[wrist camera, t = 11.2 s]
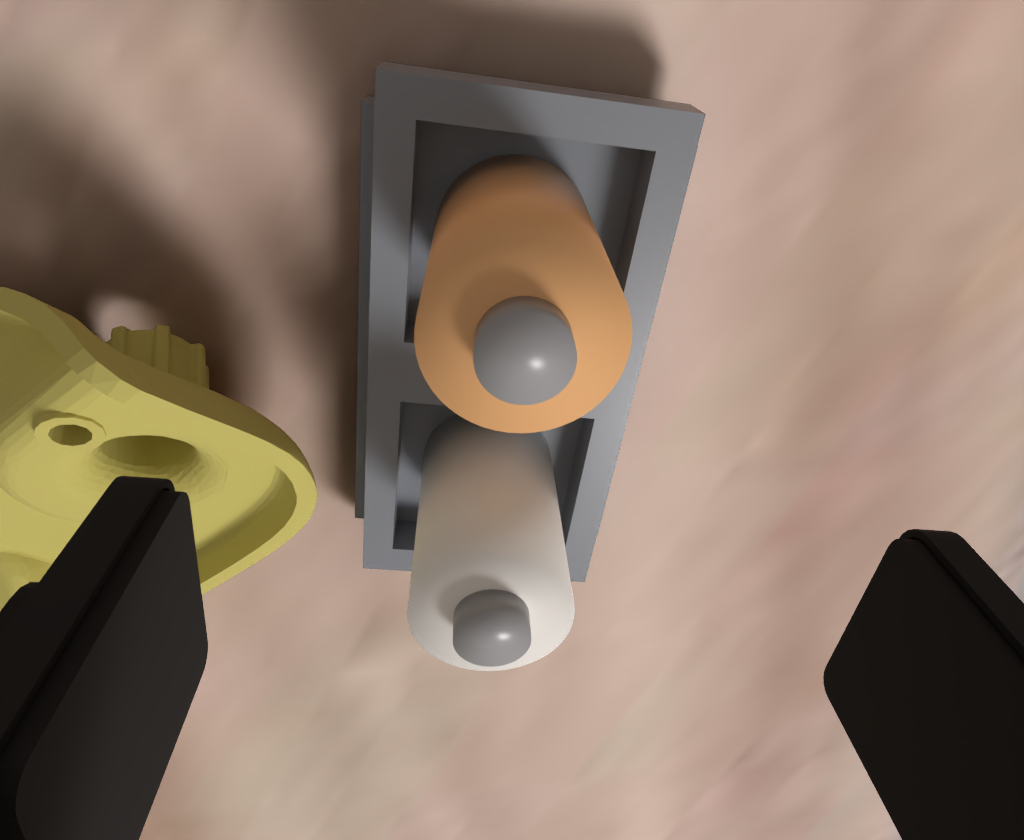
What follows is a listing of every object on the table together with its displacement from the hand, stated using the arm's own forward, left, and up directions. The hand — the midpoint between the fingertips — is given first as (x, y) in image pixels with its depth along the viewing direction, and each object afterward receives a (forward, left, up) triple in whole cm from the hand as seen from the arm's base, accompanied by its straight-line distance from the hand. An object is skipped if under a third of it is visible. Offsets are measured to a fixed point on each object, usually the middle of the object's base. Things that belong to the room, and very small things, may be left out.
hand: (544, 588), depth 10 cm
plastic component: (-10, +14, -15) cm, 23 cm away
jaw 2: (-7, 0, -13) cm, 15 cm away
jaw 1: (+1, 0, -13) cm, 13 cm away
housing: (-3, 0, -14) cm, 14 cm away
